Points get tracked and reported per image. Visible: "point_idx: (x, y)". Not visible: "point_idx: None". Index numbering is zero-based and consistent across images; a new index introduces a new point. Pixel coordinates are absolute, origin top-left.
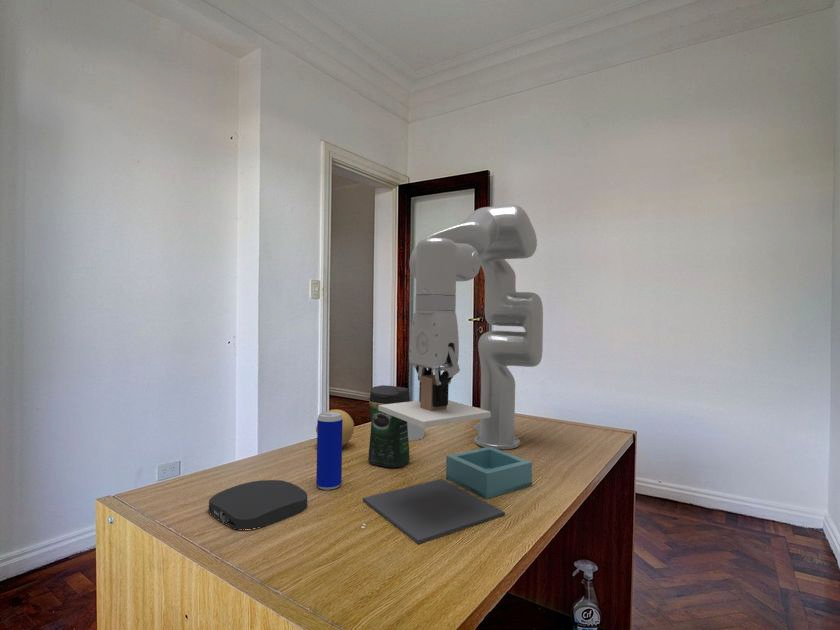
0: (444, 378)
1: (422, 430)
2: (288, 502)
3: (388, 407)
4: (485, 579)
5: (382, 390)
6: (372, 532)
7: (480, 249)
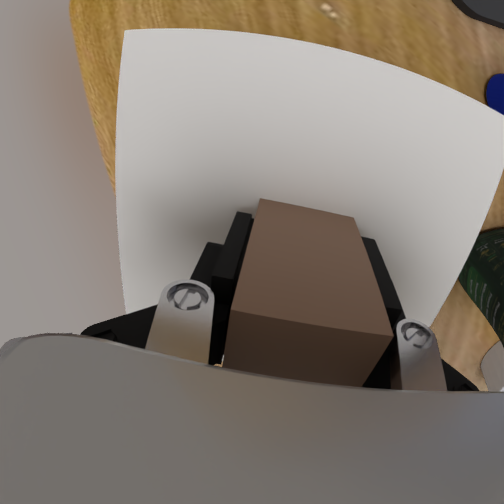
0: (117, 321)
1: (485, 373)
2: None
3: (462, 110)
4: (90, 62)
5: None
6: (296, 5)
7: None
